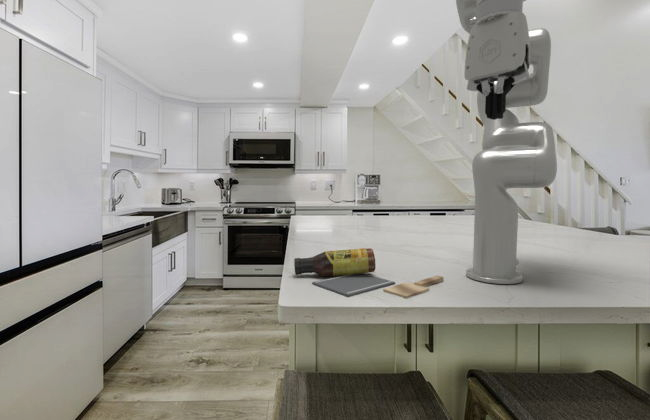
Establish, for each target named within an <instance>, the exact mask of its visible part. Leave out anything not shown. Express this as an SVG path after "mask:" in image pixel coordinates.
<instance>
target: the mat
mask: <svg viewBox="0 0 650 420" xmlns="http://www.w3.org/2000/svg"><path fill="white" fill-rule="evenodd" d="M311 285H313V286H317V287H319V288H322V289H325V290H327V291H330V292H334V293H336V294H340V295H342V296H345V297H347V298H349V297H353V296H356V295H357V296H358V295H360V294H363V293H367V292H370V291H375V290H377V289H381V288H387V287H388V286H392V285H393V286H394V285H396V281H393V280H389V279H385V278H381V277H378V276H374V275H371V274H368V273H363V274H351V275H339V276H333V277H330V278H326V279H320V280H316V281H312V282H311Z"/></svg>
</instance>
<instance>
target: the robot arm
mask: <svg viewBox="0 0 650 420" xmlns="http://www.w3.org/2000/svg"><path fill="white" fill-rule="evenodd" d="M525 1H527V0H455V5H456V9H457V13H458V15H457V16H458V18H459V23H460V25H461V27H462V29H463V30H464V31H465V32H466V33H468V34H469V36H468V41H467V45H466V52H465V62H464V63H465V64H464V79H465V80H466V81H468V82H467V85H466V89H467V91H471V92H477V94H476V105H477V111H478V116H479V118H480V121H481V123H482V125H483V126H484V130H483V135H482V136H483V137H482V142H481V143H482V144H481V148H482V150H481V151H479V152H478V153H477V152H476V154H475V156H474V157H473V159H472V164H471V165H472V166H471V167H472V169H471V170H472V178H473V187H474V218H473V219H474V220H473V221H474V224H473V225H474V226H473V249H472V250H473V252H472V253H473V254H472V256H473V257H472V267H470V268H467V269H466V270H465V275H466V277H468V278H469V279H471V280H474V281H475V280H476V281H478V282H482V283H488V284H489V283H490V284H499V285H514V284H515V285H516V284H520V283H522V282H523V280H524V275H523V274H521V273H520V272H516V271H517V266H518V265H519V263H520V261H519V260H518V258H517V251H518V249H517V247H518V227H519V225H518V224H519V206H518V203H517V202H516V200H515V198H513V197H512V196H511V195H510V193H508V192H507V189H508V190H509V189H539V188H541V189H542V188H546V187H549V186H550V185H552V184H553V182H554V181H555V179H556V177H557V171H558V162H557V151H556V143H555V142H556V141H555V135H554V130H553V128H552V127H551V125H550V124H548V123H546V122H543V121H532V122H531V121H530V122H520V121H519V119H518V117H517V115H515V114H514V113H513V112H512V111H511V110H509V108H511V109H513V108H518V107H519V108H521V107H522V108H523V107H531V106H537V105H540V104H542V103H543V102H544V101H545V100H546V98H547V95H548V90H549V89H548V88H549V76H550V75H549V74H550V64H551V55H552V53H551V52H552V50H551V49H552V38H551V35H550V32H549V31H548V29H546V28H543V27H539V28H533V29H529V26H528V25H529V24H528V19H527V16H526V14H524V12H523V5H524V4H523V3H524V2H525ZM530 66H532V67H533V69H532V73H529V69H530Z"/></svg>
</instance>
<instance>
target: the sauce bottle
mask: <svg viewBox="0 0 650 420" xmlns="http://www.w3.org/2000/svg"><path fill="white" fill-rule="evenodd" d="M293 262H294V263H293V264H294V275H302V274H312V273H314V274H317V275H318V276H321V277H329V276H333V277H338V276H343V275H351V274H368V273H374V272H375V270H376V257H375V253H374V250H373V249H372V248H371V247H370V248H366V247H364V248H363V247H362V248H350V249H338V250H337V249H335V250H326V251H323V252H320V253H319V254H316V255H314V256H311V257H306V258H305V257H304V258H300V257H295V258H294V260H293Z"/></svg>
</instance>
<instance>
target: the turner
mask: <svg viewBox="0 0 650 420" xmlns="http://www.w3.org/2000/svg"><path fill="white" fill-rule="evenodd" d="M442 282H444V276H441V275H434V276H430V277H428V278H424V279H421V280H417V281H415V282H414V283H410V282H407V281H406V282H402V283H400V284H395V285H393V286H392V285H391V286H390V287H385V288H383V292H384V293H387V294H390V295H393V296H397V297H401V298H404V299H409V298H412V297H415V296H418V295H421V294H425V293H427V292H430V288H429V287H430V286H434V285H436V284H439V283H442Z"/></svg>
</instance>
